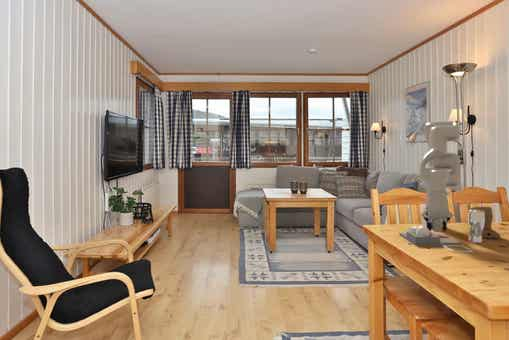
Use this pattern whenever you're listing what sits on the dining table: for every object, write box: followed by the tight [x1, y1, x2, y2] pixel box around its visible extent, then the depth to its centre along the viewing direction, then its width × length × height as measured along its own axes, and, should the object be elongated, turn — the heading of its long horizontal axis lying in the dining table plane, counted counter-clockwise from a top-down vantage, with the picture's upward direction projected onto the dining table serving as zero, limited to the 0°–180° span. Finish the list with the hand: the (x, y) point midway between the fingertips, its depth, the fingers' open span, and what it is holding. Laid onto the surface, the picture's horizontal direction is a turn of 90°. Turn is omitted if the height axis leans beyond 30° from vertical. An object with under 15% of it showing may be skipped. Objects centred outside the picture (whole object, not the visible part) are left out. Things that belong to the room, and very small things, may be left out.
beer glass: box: [467, 209, 485, 244], centre depth 181 cm, size 7×7×15 cm
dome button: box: [416, 225, 431, 236], centre depth 179 cm, size 6×6×6 cm
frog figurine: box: [430, 218, 443, 233], centre depth 189 cm, size 6×7×7 cm
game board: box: [398, 225, 475, 253], centre depth 179 cm, size 31×21×5 cm
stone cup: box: [470, 205, 502, 239], centre depth 192 cm, size 15×12×15 cm
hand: (436, 229), depth 189 cm, fingers closed on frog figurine, 6 cm apart
